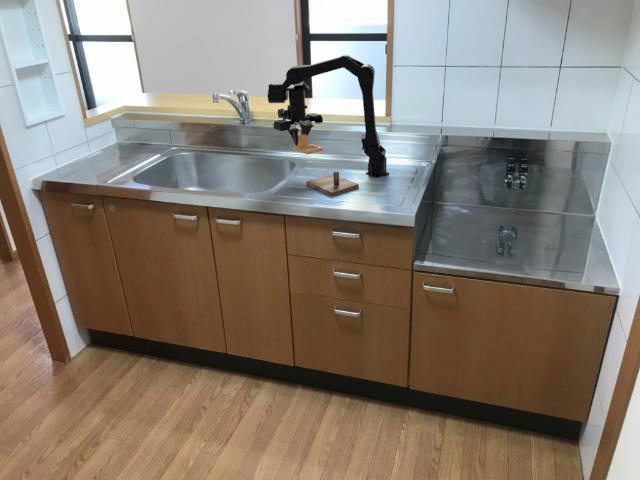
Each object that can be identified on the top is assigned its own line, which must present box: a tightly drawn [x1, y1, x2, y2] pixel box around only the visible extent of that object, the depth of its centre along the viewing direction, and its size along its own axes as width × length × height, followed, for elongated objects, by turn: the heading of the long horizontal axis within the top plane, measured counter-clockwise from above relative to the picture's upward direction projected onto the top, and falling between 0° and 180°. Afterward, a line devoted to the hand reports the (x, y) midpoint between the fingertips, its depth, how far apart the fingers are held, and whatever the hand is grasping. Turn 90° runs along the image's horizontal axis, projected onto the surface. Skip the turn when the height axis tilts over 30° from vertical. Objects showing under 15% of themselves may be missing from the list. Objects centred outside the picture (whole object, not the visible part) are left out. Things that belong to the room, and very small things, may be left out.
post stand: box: [306, 171, 360, 197], centre depth 184 cm, size 15×12×6 cm
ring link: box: [293, 131, 324, 155], centre depth 191 cm, size 12×7×5 cm, turn 36°
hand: (299, 144), depth 195 cm, fingers closed on ring link, 3 cm apart
